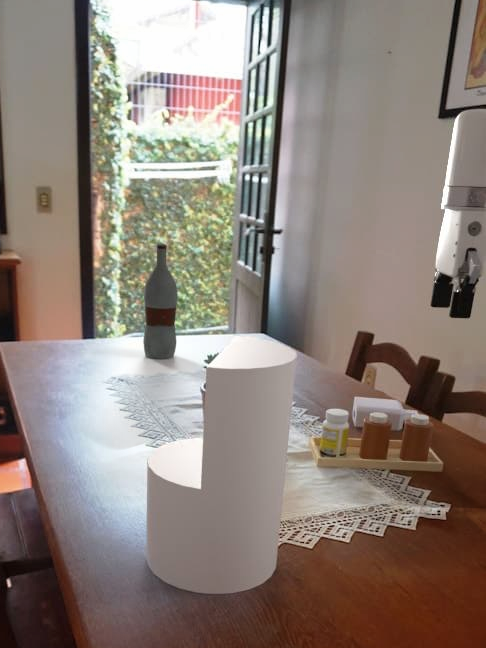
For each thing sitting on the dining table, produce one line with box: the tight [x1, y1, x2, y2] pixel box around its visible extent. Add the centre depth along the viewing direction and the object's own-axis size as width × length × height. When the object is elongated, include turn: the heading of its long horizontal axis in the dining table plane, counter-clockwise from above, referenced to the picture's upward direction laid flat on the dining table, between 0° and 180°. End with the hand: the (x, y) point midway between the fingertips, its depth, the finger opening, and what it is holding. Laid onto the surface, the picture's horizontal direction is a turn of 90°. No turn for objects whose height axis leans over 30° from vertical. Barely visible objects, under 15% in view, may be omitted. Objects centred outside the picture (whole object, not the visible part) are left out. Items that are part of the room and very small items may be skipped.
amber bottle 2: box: [399, 413, 435, 462], centre depth 124 cm, size 5×5×8 cm
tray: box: [308, 436, 444, 472], centre depth 126 cm, size 22×11×2 cm, turn 90°
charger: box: [351, 396, 419, 432], centre depth 144 cm, size 5×9×15 cm
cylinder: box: [145, 334, 298, 595], centre depth 85 cm, size 17×17×28 cm
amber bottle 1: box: [359, 412, 392, 460], centre depth 124 cm, size 5×5×8 cm
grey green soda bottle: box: [143, 243, 179, 360], centre depth 187 cm, size 9×9×30 cm
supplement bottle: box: [320, 408, 350, 458], centre depth 124 cm, size 5×5×8 cm
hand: (449, 312), depth 112 cm, fingers open, 9 cm apart
